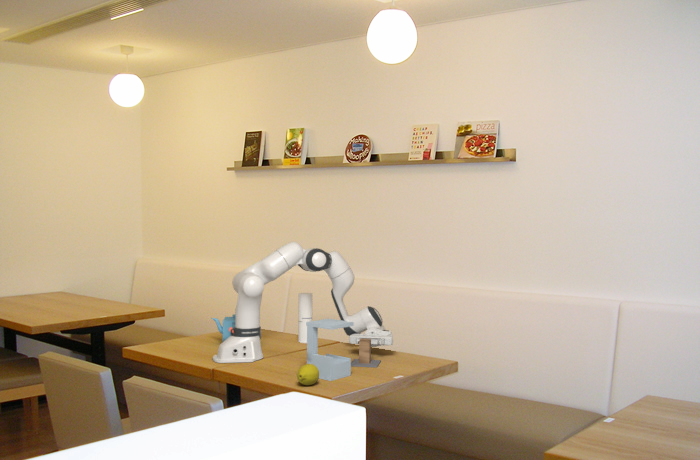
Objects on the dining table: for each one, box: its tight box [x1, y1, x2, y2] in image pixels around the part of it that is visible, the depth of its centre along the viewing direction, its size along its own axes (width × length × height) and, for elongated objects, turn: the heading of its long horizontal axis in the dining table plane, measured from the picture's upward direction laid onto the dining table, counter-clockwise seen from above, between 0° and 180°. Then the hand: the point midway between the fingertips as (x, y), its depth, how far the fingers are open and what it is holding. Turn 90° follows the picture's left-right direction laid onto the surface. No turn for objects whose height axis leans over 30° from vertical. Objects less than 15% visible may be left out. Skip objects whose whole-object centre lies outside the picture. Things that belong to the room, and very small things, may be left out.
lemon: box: [296, 363, 320, 386], centre depth 237 cm, size 11×8×8 cm
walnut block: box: [358, 338, 372, 364], centre depth 274 cm, size 4×4×10 cm
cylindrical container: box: [297, 292, 313, 344], centre depth 324 cm, size 7×7×25 cm
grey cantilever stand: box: [306, 318, 354, 382], centre depth 253 cm, size 13×14×22 cm
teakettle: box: [210, 314, 235, 342], centre depth 319 cm, size 19×19×15 cm
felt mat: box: [351, 358, 382, 368], centre depth 274 cm, size 12×12×1 cm
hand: (368, 342), depth 281 cm, fingers open, 8 cm apart
